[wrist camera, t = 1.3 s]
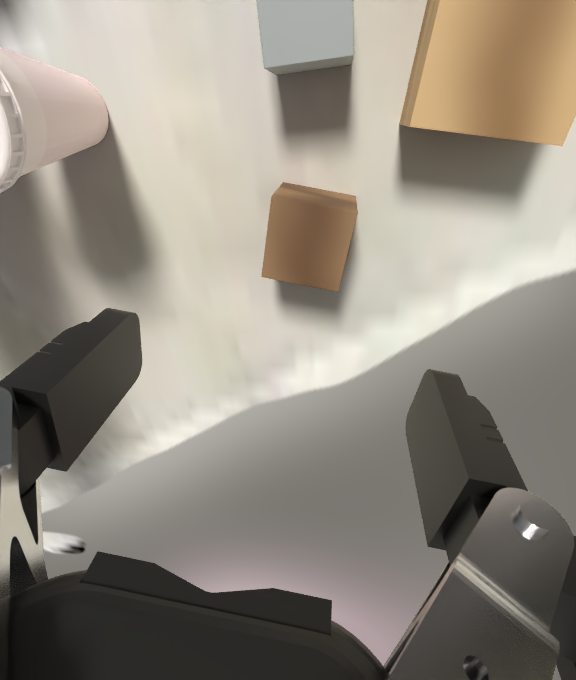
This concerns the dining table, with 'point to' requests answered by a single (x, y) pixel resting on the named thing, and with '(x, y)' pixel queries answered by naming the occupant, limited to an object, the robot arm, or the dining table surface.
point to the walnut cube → (308, 236)
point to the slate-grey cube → (305, 34)
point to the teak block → (495, 69)
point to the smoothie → (44, 115)
